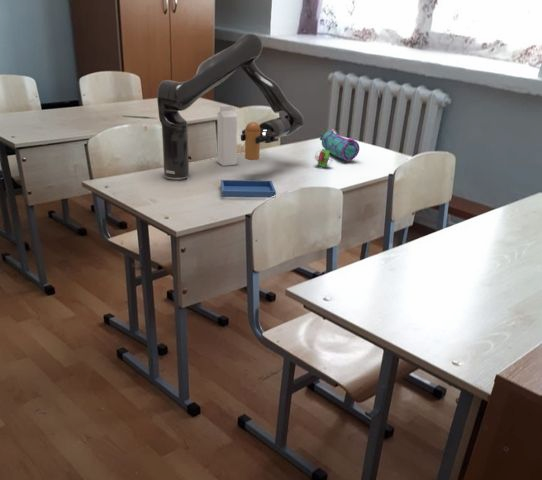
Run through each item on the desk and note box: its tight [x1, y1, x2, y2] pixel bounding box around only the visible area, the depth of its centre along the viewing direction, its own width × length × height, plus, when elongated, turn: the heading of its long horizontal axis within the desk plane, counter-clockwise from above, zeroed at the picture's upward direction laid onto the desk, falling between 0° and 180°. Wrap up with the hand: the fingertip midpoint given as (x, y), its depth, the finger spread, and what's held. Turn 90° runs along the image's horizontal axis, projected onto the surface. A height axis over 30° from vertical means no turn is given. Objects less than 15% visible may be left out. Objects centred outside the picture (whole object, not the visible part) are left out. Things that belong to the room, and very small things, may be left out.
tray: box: [220, 179, 277, 198], centre depth 212 cm, size 13×19×3 cm
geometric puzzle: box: [314, 148, 334, 168], centre depth 245 cm, size 7×7×8 cm
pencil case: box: [319, 129, 360, 162], centre depth 259 cm, size 21×9×10 cm, turn 24°
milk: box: [216, 105, 238, 167], centre depth 237 cm, size 6×6×22 cm
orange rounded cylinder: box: [244, 121, 261, 161], centre depth 216 cm, size 5×5×13 cm
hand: (249, 139), depth 213 cm, fingers closed on orange rounded cylinder, 5 cm apart
